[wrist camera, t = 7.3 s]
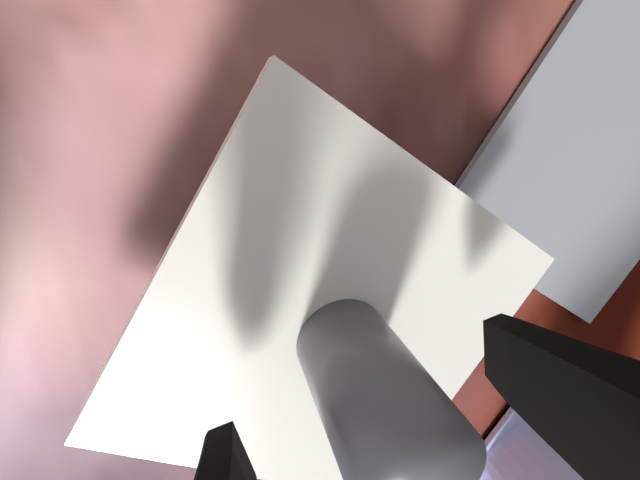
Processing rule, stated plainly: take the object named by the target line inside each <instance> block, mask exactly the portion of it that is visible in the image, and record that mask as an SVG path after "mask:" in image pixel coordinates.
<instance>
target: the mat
mask: <svg viewBox="0 0 640 480" xmlns="http://www.w3.org/2000/svg"><path fill="white" fill-rule="evenodd" d="M454 186H455V187H456V188H458V189H459V190H460V191H462V192H463V193H465V194H466V195H467V196H469V197H470V198H471V199H473V200H474V201H476V202H477V203H478V204H480V205H481V206H482V207H484V208H485V209H487V210H488V211H489V212H491V213H492V214H493V215H495V216H496V217H498V218H499V219H500V220H502V221H503V222H504V223H506V224H507V225H509V226H510V227H511V228H513V229H514V230H515V231H517V232H518V233H520V234H521V235H522V236H524V237H525V238H526V239H528V240H529V241H531V242H532V243H533V244H535V245H536V246H537V247H539V248H540V249H542V250H543V251H544V252H546V253H547V254H548V255H550V256H551V257H553V258H554V261H553V262H552V264H551V265H550V266H549V268H548V269H547V270H546V272H545V273H544V274H543V276H542V277H541V279H540V280H539V281H538V283H537V284H536V285H535V287H534V289H536V290H537V291H539V292H540V293H542V294H543V295H545V296H546V297H548V298H550V299H551V300H553V301H554V302H556V303H557V304H559V305H561V306H562V307H564V308H565V309H567V310H568V311H570V312H572V313H573V314H575V315H576V316H578V317H579V318H581V319H583V320H584V321H586V322H588V323H589V324H590V323H591V322H592V321H593V319H594V318H595V317H596V315H597V314H598V313H599V311H600V310H601V309H602V308H603V306H604V305H605V304H606V302H607V301H608V300H609V299H610V297H611V296H612V295H613V293H614V292H615V291H616V290H617V288H618V287H619V286H620V284H621V283H622V282H623V280H624V279H625V278H626V277H627V275H628V274H629V273H630V271H631V270H632V269H633V268H634V266H635V265H636V264H637V262H638V261H639V260H640V0H576V1H575V3H574V4H573V6H572V7H571V9H570V10H569V12H568V13H567V15H566V16H565V18H564V19H563V21H562V22H561V24H560V25H559V27H558V28H557V30H556V32H555V33H554V35H553V36H552V38H551V39H550V41H549V42H548V44H547V45H546V47H545V48H544V50H543V51H542V53H541V54H540V56H539V57H538V59H537V60H536V62H535V63H534V65H533V67H532V68H531V70H530V71H529V73H528V74H527V76H526V77H525V79H524V80H523V82H522V83H521V85H520V86H519V88H518V89H517V91H516V92H515V94H514V95H513V97H512V98H511V100H510V102H509V103H508V105H507V106H506V108H505V109H504V111H503V112H502V114H501V115H500V117H499V118H498V120H497V121H496V123H495V124H494V126H493V127H492V129H491V130H490V132H489V133H488V135H487V137H486V138H485V140H484V141H483V143H482V144H481V146H480V147H479V149H478V150H477V152H476V153H475V155H474V156H473V158H472V159H471V161H470V162H469V164H468V165H467V167H466V168H465V170H464V172H463V173H462V175H461V176H460V178H459V179H458V181H457V182H456V184H455V185H454Z"/></svg>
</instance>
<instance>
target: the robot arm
mask: <svg viewBox="0 0 640 480" xmlns="http://www.w3.org/2000/svg"><path fill="white" fill-rule="evenodd" d="M483 335H484V360H485V376H486V377H487V378H488V379H489V381H490V382H491V383H492V385H493V386H494V387H495V388H496V390H497V391H498V392H499V393H500V395H501V396H502V397H503V398H504V399H505V401H506V402H507V403H508V404H509V405H510V408H509V409H508V410H507V412H506V413H505V414H504V416H503V417H502V418H501V420H500V421H499V422H498V423H497V425H496V426H495V427H494V429H493V430H492V431H491V433H490V434H489V435H488V436H487V438H486V439H485V440H484V442H485V445H486V451H487V459H486V464H485V468H484V471H483V473H482V476H481V478H480V480H640V361H639V360H636V359H633V358H630V357H626V356H623V355H620V354H617V353H614V352H611V351H608V350H605V349H602V348H599V347H596V346H593V345H590V344H587V343H584V342H581V341H579V340H576V339H573V338H570V337H567V336H564V335H562V334H559V333H556V332H553V331H551V330H548V329H545V328H542V327H540V326H537V325H534V324H531V323H529V322H526V321H523V320H520V319H517V318H514V317H512V316H508V315H505V314H502V313H501V314H498V315H496V316H493V317H491V318H488V319H486V320H483ZM194 480H257V477H256V473H255V471H254V469H253V466H252V464H251V462H250V459H249V457H248V455H247V453H246V450H245V448H244V446H243V443H242V441H241V439H240V437H239V434H238V432H237V430H236V427H235V425H234V423H233V421H231V422H228V423H226V424H223V425H221V426H218V427H216V428H213V429H211V430H208V432H207V433H206V435H205V438H204V443H203V447H202V451H201V455H200V459H199V463H198V466H197V470H196V474H195V477H194Z"/></svg>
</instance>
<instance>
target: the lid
mask: <svg viewBox="0 0 640 480" xmlns="http://www.w3.org/2000/svg"><path fill="white" fill-rule="evenodd" d="M553 261H554V258H553V257H551V256H550V255H548V254H547V253H546V252H544V251H543V250H542V249H540V248H539V247H537V246H536V245H535V244H533V243H532V242H531V241H529V240H528V239H526V238H525V237H524V236H522V235H521V234H520V233H518V232H517V231H515V230H514V229H513V228H511V227H510V226H509V225H507V224H506V223H504V222H503V221H502V220H500V219H499V218H498V217H496V216H495V215H493V214H492V213H491V212H489V211H488V210H487V209H485V208H484V207H482V206H481V205H480V204H478V203H477V202H476V201H474V200H473V199H471V198H470V197H469V196H467V195H466V194H465V193H463V192H462V191H460V190H459V189H458V188H456V187H455V186H454V185H452V184H451V183H449V182H448V181H447V180H445V179H444V178H443V177H441V176H440V175H438V174H437V173H436V172H434V171H433V170H432V169H430V168H429V167H427V166H426V165H425V164H423V163H422V162H421V161H419V160H418V159H416V158H415V157H414V156H412V155H411V154H410V153H408V152H407V151H405V150H404V149H403V148H401V147H400V146H399V145H397V144H396V143H394V142H393V141H392V140H390V139H389V138H388V137H386V136H385V135H383V134H382V133H381V132H379V131H378V130H377V129H375V128H374V127H372V126H371V125H370V124H368V123H367V122H366V121H364V120H363V119H361V118H360V117H359V116H357V115H356V114H355V113H353V112H352V111H350V110H349V109H348V108H346V107H345V106H344V105H342V104H341V103H339V102H338V101H337V100H335V99H334V98H333V97H331V96H330V95H328V94H327V93H326V92H324V91H323V90H322V89H320V88H319V87H317V86H316V85H315V84H313V83H312V82H311V81H309V80H308V79H306V78H305V77H304V76H302V75H301V74H300V73H298V72H297V71H295V70H294V69H293V68H291V67H290V66H289V65H287V64H286V63H284V62H283V61H282V60H280V59H279V58H278V57H276V56H275V55H273V56H271V57H270V58H268V60H267V62H266V64H265V65H264V67H263V69H262V71H261V73H260V75H259V77H258V79H257V80H256V82H255V84H254V86H253V88H252V90H251V92H250V93H249V95H248V97H247V99H246V101H245V103H244V105H243V106H242V108H241V110H240V112H239V114H238V116H237V118H236V120H235V121H234V123H233V125H232V127H231V129H230V131H229V133H228V134H227V136H226V138H225V140H224V142H223V144H222V146H221V148H220V149H219V151H218V153H217V155H216V157H215V159H214V161H213V162H212V164H211V166H210V168H209V170H208V172H207V174H206V175H205V177H204V179H203V181H202V183H201V185H200V187H199V189H198V190H197V192H196V194H195V196H194V198H193V200H192V202H191V203H190V205H189V207H188V209H187V211H186V213H185V215H184V217H183V218H182V220H181V222H180V224H179V226H178V228H177V230H176V231H175V233H174V235H173V237H172V239H171V241H170V243H169V244H168V246H167V248H166V250H165V252H164V254H163V256H162V258H161V259H160V261H159V263H158V265H157V267H156V269H155V271H154V272H153V274H152V276H151V278H150V280H149V282H148V284H147V286H146V287H145V289H144V291H143V293H142V295H141V297H140V299H139V300H138V302H137V304H136V306H135V308H134V310H133V312H132V313H131V315H130V317H129V319H128V321H127V323H126V325H125V327H124V328H123V330H122V332H121V334H120V336H119V338H118V340H117V341H116V343H115V345H114V347H113V349H112V351H111V353H110V355H109V356H108V358H107V360H106V362H105V364H104V366H103V368H102V369H101V371H100V373H99V375H98V377H97V379H96V381H95V382H94V384H93V386H92V388H91V390H90V392H89V394H88V396H87V397H86V399H85V401H84V403H83V405H82V407H81V409H80V410H79V412H78V414H77V416H76V418H75V420H74V422H73V424H72V426H71V429H70V431H69V433H68V436H67V438H66V441H65V443H64V446H70V447H76V448H82V449H88V450H94V451H99V452H105V453H111V454H117V455H123V456H129V457H135V458H140V459H146V460H152V461H158V462H164V463H170V464H175V465H181V466H187V467H193V468H197V466H198V463H199V459H200V455H201V451H202V447H203V443H204V438H205V435H206V433H207V432H208V430H211V429H213V428H216V427H218V426H221V425H223V424H226V423H228V422H231V421H233V423H234V425H235V427H236V430H237V432H238V434H239V437H240V439H241V441H242V443H243V446H244V448H245V450H246V453H247V455H248V457H249V459H250V462H251V464H252V466H253V469H254V471H255V473H256V477H257V479H263V480H480V478H481V476H482V473H483V471H484V468H485V464H486V459H487V451H486V445H485V442H484V440H483V439H482V437H481V436H480V434H479V433H478V432H477V431H476V429H475V428H474V427H473V426H472V425H471V423H470V422H469V421H468V420H467V419H466V417H465V416H464V415H463V414H462V413H461V411H460V410H459V409H458V408H457V407H456V405H455V404H454V403H453V402H452V401H451V400H452V399H453V397H454V396H455V395H456V393H457V392H458V391H459V389H460V388H461V386H462V385H463V384H464V382H465V381H466V380H467V378H468V377H469V376H470V374H471V373H472V371H473V370H474V369H475V367H476V366H477V365H478V363H479V362H480V360H481V359H482V358H483V356H484V335H483V320H486V319H488V318H491V317H493V316H496V315H498V314H501V313H502V314H505V315H508V316H512V317H513V315H514V314H515V313H516V311H517V310H518V309H519V307H520V306H521V304H522V303H523V302H524V300H525V299H526V298H527V296H528V295H529V294H530V292H531V291H532V289H533V288H534V287H535V285H536V284H537V283H538V281H539V280H540V279H541V277H542V276H543V274H544V273H545V272H546V270H547V269H548V268H549V266H550V265H551V264H552V262H553Z"/></svg>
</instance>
